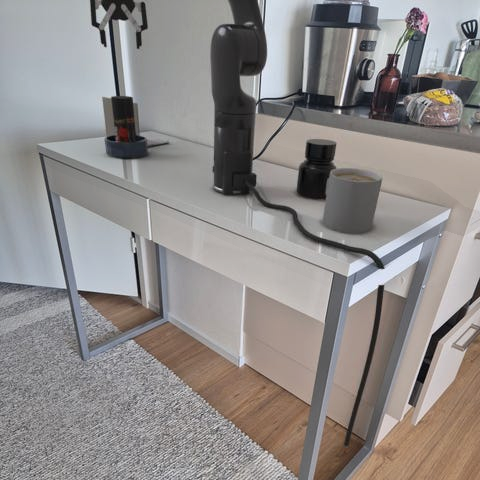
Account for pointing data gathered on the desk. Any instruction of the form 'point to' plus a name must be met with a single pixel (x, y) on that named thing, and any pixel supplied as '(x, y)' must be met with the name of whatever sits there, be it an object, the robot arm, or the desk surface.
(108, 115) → the laptop
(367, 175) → the coffee mug
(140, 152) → the bowl
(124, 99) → the deodorant
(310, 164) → the ink bottle
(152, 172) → the desk surface
